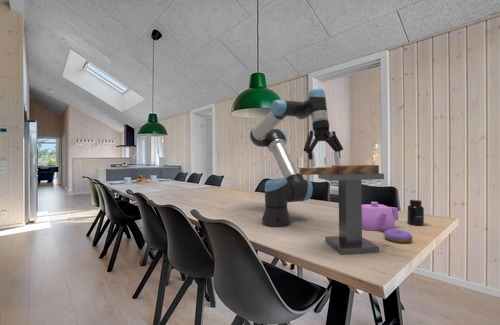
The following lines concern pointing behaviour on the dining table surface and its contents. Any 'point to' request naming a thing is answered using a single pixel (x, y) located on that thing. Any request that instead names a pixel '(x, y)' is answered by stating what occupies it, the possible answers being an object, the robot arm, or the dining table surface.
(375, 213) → the teakettle
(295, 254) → the dining table surface
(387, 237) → the donut
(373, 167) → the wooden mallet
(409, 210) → the supplement bottle
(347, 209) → the pedestal
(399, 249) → the dining table surface
